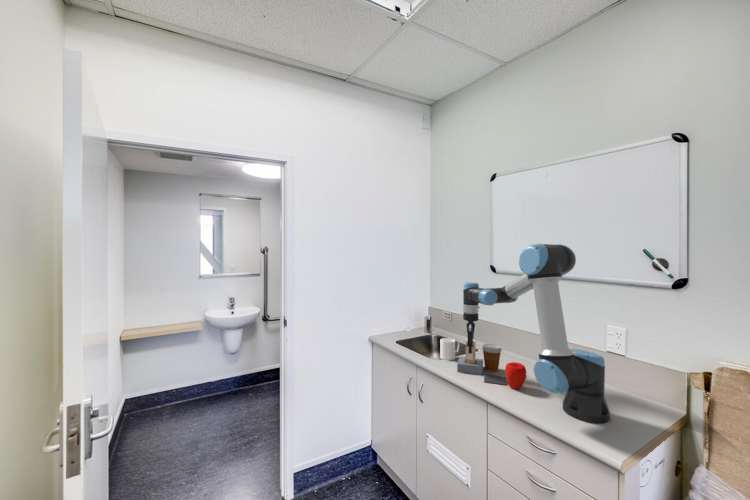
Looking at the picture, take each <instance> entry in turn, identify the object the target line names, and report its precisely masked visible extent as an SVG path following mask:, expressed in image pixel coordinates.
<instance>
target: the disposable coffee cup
mask: <svg viewBox="0 0 750 500" xmlns="http://www.w3.org/2000/svg"><path fill="white" fill-rule="evenodd" d="M481 349H482V353H483V365H484V369H485V370H486V371H487V372H491V373H494V372H498V371H499V367H500V366H499V365H500V358H501V353H502V351H503V350H502V347H501V345H497V344H494V343H485V344H483V345H482V347H481Z"/></svg>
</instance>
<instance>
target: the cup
mask: <svg viewBox="0 0 750 500" xmlns="http://www.w3.org/2000/svg"><path fill="white" fill-rule="evenodd" d="M456 341H457V350H456ZM439 343H440V344H439V345H440V348H439V349H440V350H439V351H440V353H439V355H440V356H439V357H440V359H441V360H445V361H454V360H456V353H459V350H460V346H461V345H460V340H459V339H458V338H450V337H447V338H446V337H445V338H444V337H443V338H440V341H439Z"/></svg>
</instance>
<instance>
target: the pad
mask: <svg viewBox="0 0 750 500" xmlns="http://www.w3.org/2000/svg"><path fill="white" fill-rule="evenodd" d="M483 383H485V384H493V385H501V386H506V387H507V386H508V382H507V379H506V375H499V374H498V375H496V374H490V373H484V377H483Z"/></svg>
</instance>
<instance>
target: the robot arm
mask: <svg viewBox="0 0 750 500" xmlns="http://www.w3.org/2000/svg"><path fill="white" fill-rule="evenodd" d="M576 261H577V258H576V254H575V252H574V251H573V250H572V249H571V248H570V247H568V246H566V245H565V244H564V245H563V244H546V243H536V244H530V245H527V246H526V247H524V249H522V252H521V253H520V255H519V258H518V266H519V268H520V271H522V273H523V274H522V275H520V276H519V277H516V278H515V279H513V280H512V281H511V282H509V283H507V284H506V285H504V286H502V287H495V288H494V287H490V288H484V287H483V288H482V287H480V286H479V283H478V282H476V281H475V282H472V281H470V282H469V281H468V282H464V283H463V288H462V289H463V291H462V292H463V293H462V295H463V297H462V298H463V300H462V301H463V303H462V305H463V306H462V307H463V308H462V311H463V314H462V315H463V318H462V319H463V320H464V321H466V322H467V323H466V332H467V338H468V341H467V345H466V344H465V348H466V347H468V351H467V359H470V360H473V339H475V337H474V335H475V327H476V322H478V321H479V309H480V308H481V306H479V304H481V305H483V306H493V305H495V304H510V303H515V302H516V301H517V300H518V298H519V297H520V296H522V295H524V294H526V293H528V292H530V291H531V290H533V293H534V294H533V295H534V299H535V300H534V301H535V307H536V314H537V315H536V316H537V321H538V328H539V334H540V335H539V336H540V341H541V342H540V343H541V349H540V350H539V351H538V358H539V359H538V360H537V361H535V364H534V365H533V372H534V373H533V374H534V377H535V379H536V381H537V383H538V384H539V385H540V386H541V387H542V388H543V389H544V390H546V391H547V392H549V393H551V394H552V393H553V394H561V393H562V394H565V395H564V397H563V399H562V410H563V411H564V412H565V413H566V414H567V415H569V416H571V417H573V418H575V419H578V420H580V421H584V422H587V423H593V424H605V423H608V422H610V420H611V411H610V408H609V406H608V403H607V400H606V396H605V382H606V379H605V378H606V377H605V376H606V375H605V374H606V373H605V372H606V366H605V365H606V363H605V358H604V357H603V356H601V355H600V354H598V353H594V352H591V351H588V350H582V349H579V348H577V349H576V348H571V349H570V348H569V344H568V339H567V338H568V337H567V332H566V325H565V317H564V312H563V306H562V299H561V293H560V288H559V287H560V286H559V282H560V281H561V279H562V278H563V276H564V275H566V274H568V273H569V272H571V271H572V270H573V269H574V267H575V266H576Z"/></svg>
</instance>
